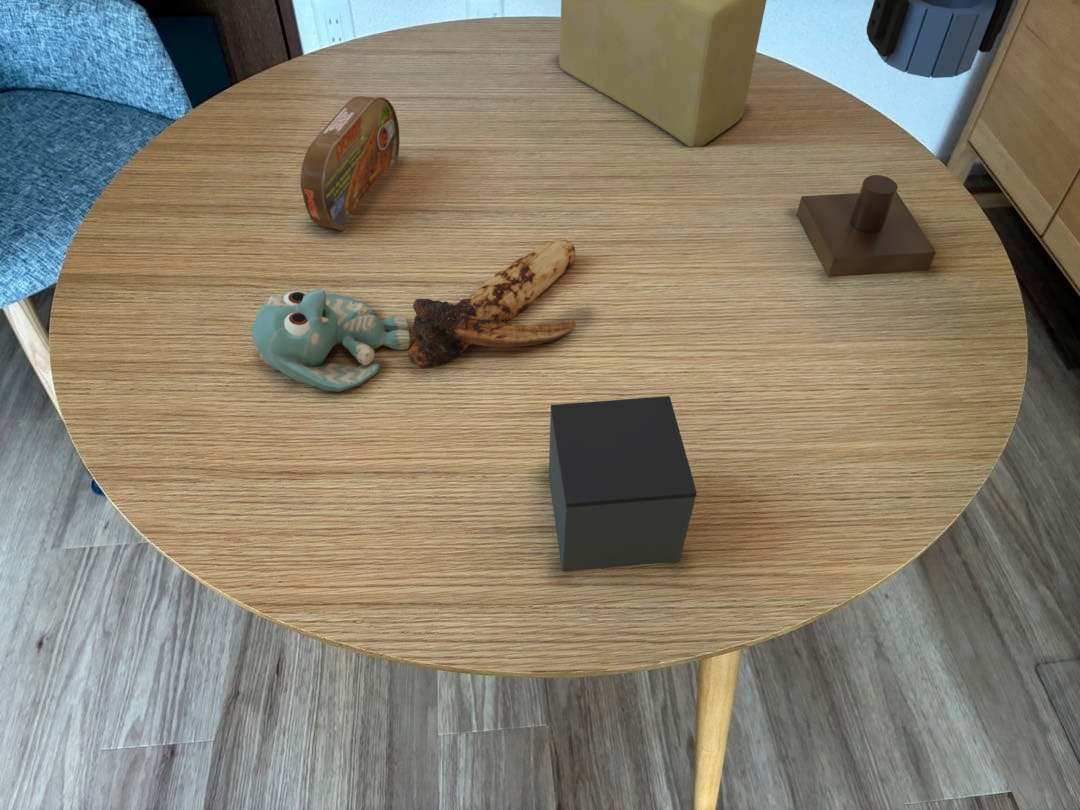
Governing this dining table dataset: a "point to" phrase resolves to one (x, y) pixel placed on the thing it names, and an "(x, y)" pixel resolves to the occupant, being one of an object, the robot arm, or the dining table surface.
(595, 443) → the block
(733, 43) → the cheese
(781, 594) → the dining table surface
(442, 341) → the bone fish hook
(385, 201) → the dining table surface
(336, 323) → the teal creature figurine
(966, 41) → the ring
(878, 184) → the platform
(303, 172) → the tin
